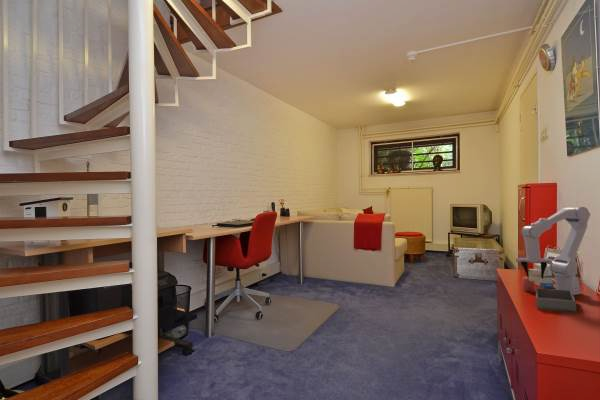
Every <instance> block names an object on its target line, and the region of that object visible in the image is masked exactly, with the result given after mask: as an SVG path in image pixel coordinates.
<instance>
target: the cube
mask: <svg viewBox="0 0 600 400" xmlns="http://www.w3.org/2000/svg"><path fill="white" fill-rule="evenodd" d="M528 274H529V281H533V282H534V283H535V282H542V278H541V270H538V269H534V268H528Z"/></svg>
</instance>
